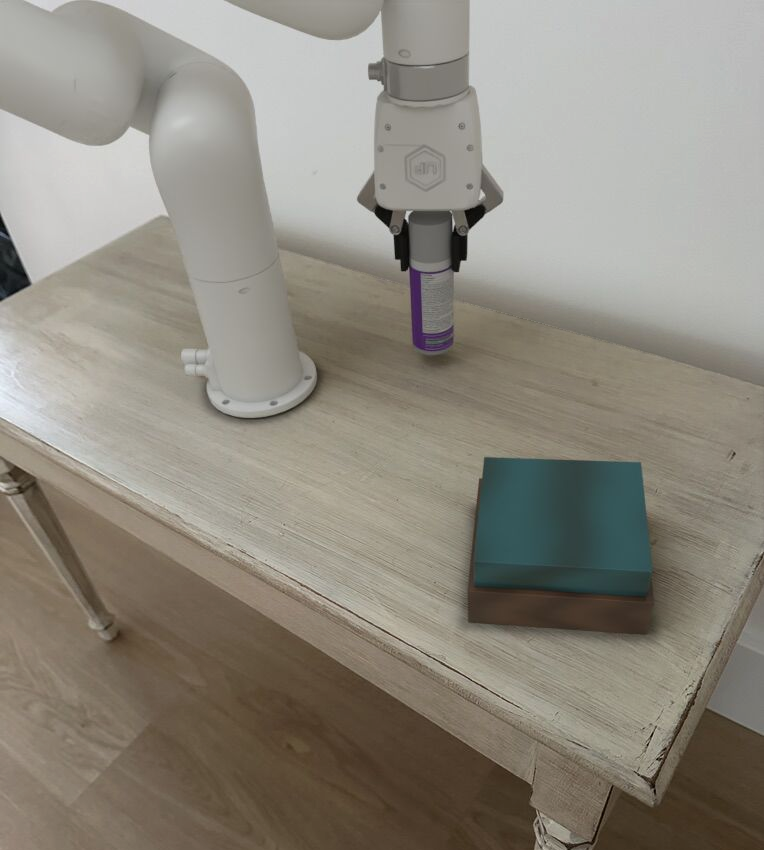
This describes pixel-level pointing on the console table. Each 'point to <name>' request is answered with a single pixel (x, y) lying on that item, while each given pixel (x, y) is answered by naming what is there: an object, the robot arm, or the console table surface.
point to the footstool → (561, 546)
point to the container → (431, 281)
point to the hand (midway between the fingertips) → (431, 264)
